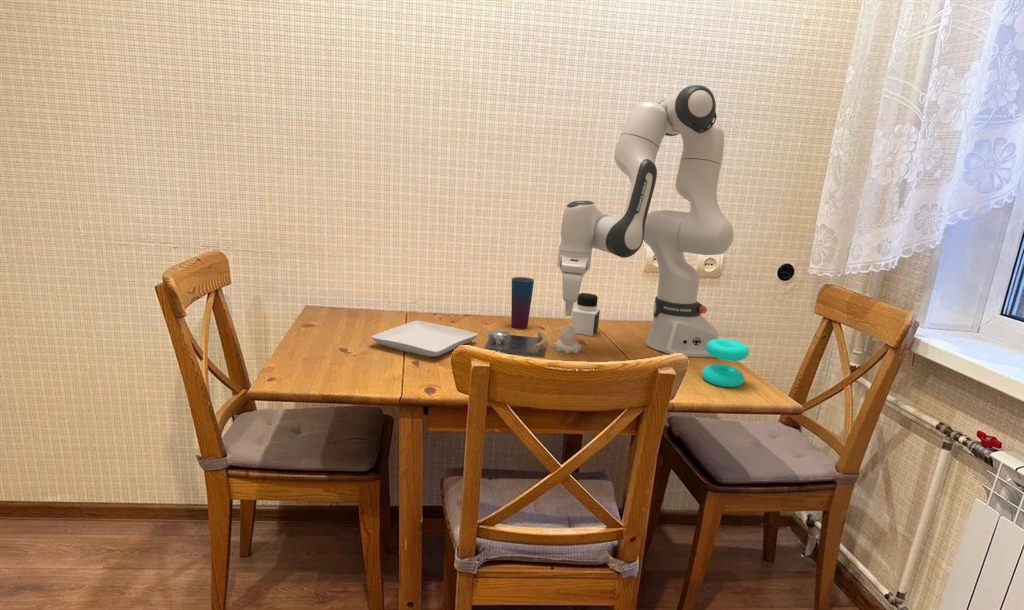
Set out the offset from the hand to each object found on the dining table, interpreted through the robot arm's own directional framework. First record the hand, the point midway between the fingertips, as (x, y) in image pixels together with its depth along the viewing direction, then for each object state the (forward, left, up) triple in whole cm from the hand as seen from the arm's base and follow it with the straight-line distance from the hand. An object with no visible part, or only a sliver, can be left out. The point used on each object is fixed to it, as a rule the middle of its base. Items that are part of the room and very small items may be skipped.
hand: (568, 311), depth 165 cm
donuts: (-40, +14, -11) cm, 43 cm away
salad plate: (+38, +8, -11) cm, 40 cm away
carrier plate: (+13, +2, -11) cm, 17 cm away
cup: (+14, -18, -11) cm, 26 cm away
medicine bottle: (-6, -19, -11) cm, 23 cm away
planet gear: (-1, 0, -11) cm, 11 cm away
